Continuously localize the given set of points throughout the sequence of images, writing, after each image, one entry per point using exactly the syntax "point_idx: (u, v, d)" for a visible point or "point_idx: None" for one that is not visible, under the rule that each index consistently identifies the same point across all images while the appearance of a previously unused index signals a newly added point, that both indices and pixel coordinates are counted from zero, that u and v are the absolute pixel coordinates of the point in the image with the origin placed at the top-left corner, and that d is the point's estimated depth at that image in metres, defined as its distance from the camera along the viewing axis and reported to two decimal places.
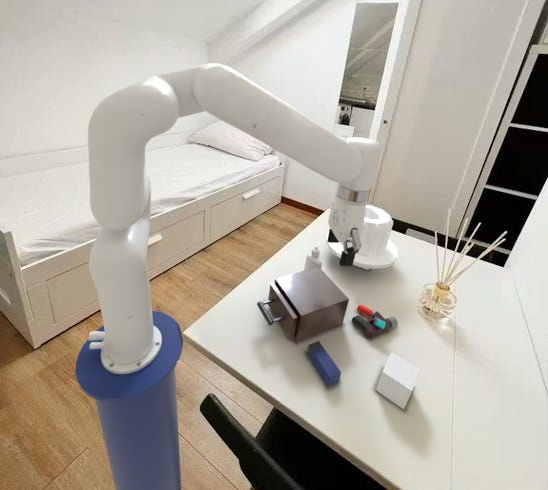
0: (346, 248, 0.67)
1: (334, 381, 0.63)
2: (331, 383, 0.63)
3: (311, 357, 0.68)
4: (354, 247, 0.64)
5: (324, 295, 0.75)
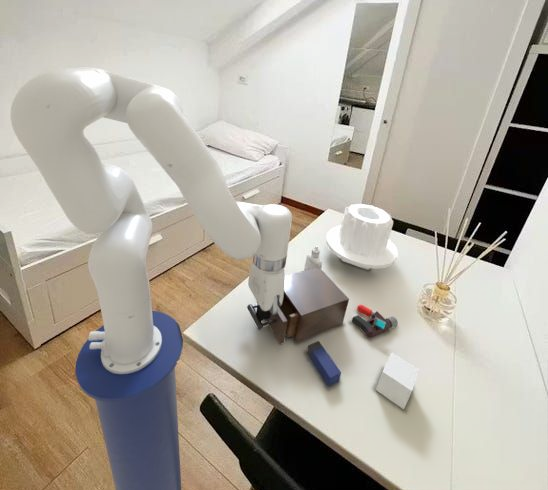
0: None
1: (334, 381, 0.63)
2: (331, 383, 0.63)
3: (311, 357, 0.68)
4: (270, 312, 0.67)
5: (324, 295, 0.75)
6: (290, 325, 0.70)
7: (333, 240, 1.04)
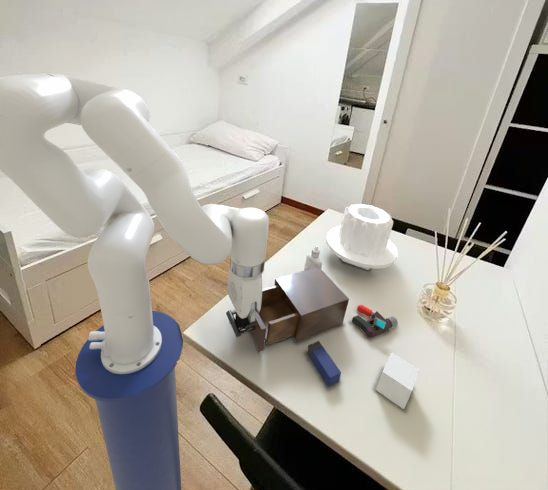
0: None
1: (334, 381, 0.63)
2: (331, 383, 0.63)
3: (311, 357, 0.68)
4: (248, 319, 0.64)
5: (324, 295, 0.75)
6: (269, 333, 0.68)
7: (333, 240, 1.04)
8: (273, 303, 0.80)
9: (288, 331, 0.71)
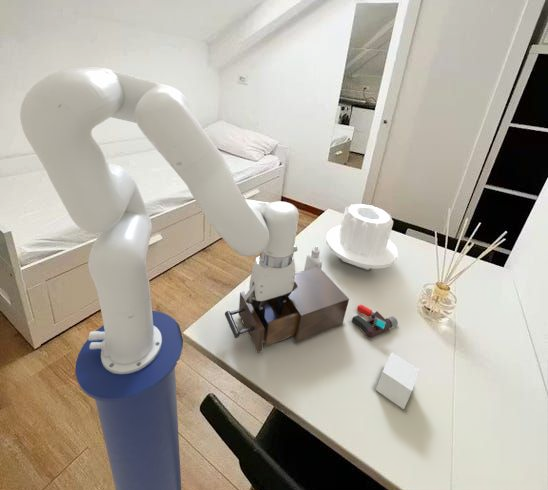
0: (255, 298, 0.71)
1: None
2: None
3: None
4: None
5: (324, 295, 0.75)
6: (268, 333, 0.67)
7: (333, 240, 1.04)
8: (272, 303, 0.80)
9: (287, 331, 0.71)
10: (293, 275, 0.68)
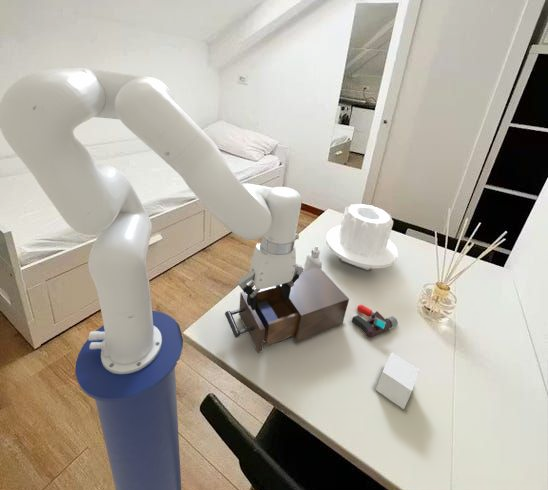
0: (248, 285, 0.68)
1: None
2: None
3: (258, 313, 0.75)
4: None
5: (324, 295, 0.75)
6: (268, 333, 0.67)
7: (333, 240, 1.04)
8: (272, 303, 0.80)
9: (287, 331, 0.71)
10: (294, 263, 0.67)
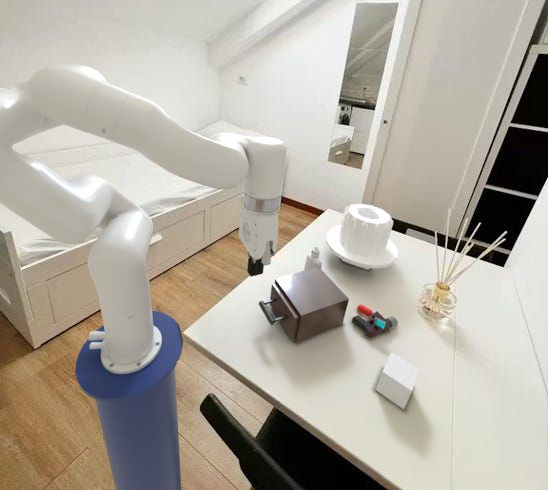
0: (255, 260, 0.61)
1: None
2: None
3: None
4: (263, 262, 0.59)
5: (324, 295, 0.75)
6: None
7: (333, 240, 1.04)
8: None
9: None
10: None
